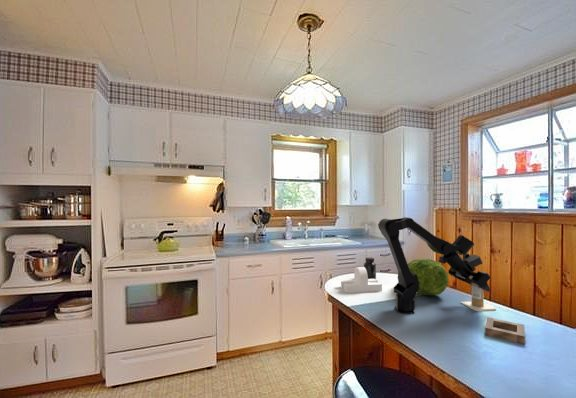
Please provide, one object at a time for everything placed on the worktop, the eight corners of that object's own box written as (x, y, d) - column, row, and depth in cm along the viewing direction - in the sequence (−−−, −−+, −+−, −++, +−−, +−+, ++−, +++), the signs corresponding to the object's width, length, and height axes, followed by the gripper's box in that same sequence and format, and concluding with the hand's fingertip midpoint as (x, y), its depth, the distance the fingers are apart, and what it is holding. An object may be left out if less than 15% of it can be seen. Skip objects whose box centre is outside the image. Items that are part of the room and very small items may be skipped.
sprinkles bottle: (486, 305, 124) (486, 274, 123) (479, 307, 122) (479, 275, 121) (475, 302, 128) (475, 271, 128) (468, 304, 126) (468, 273, 125)
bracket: (345, 293, 144) (345, 270, 144) (340, 287, 154) (340, 265, 154) (382, 291, 146) (382, 269, 146) (375, 285, 156) (375, 264, 156)
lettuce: (422, 285, 156) (413, 253, 158) (460, 291, 134) (449, 255, 136) (396, 295, 150) (387, 262, 152) (432, 303, 128) (421, 265, 130)
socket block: (485, 334, 99) (485, 327, 99) (487, 323, 108) (487, 317, 108) (525, 344, 93) (525, 336, 93) (524, 331, 101) (524, 324, 101)
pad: (475, 311, 120) (475, 309, 120) (460, 303, 129) (460, 301, 129) (496, 310, 120) (496, 308, 120) (479, 302, 129) (479, 300, 129)
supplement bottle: (376, 280, 164) (376, 259, 164) (364, 280, 165) (364, 259, 165) (375, 277, 171) (375, 257, 170) (363, 276, 172) (363, 256, 172)
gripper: (486, 253, 115) (511, 280, 116) (454, 245, 133) (476, 268, 134) (467, 273, 114) (493, 300, 115) (438, 263, 133) (461, 286, 134)
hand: (480, 287), depth 125 cm, fingers open, 9 cm apart
